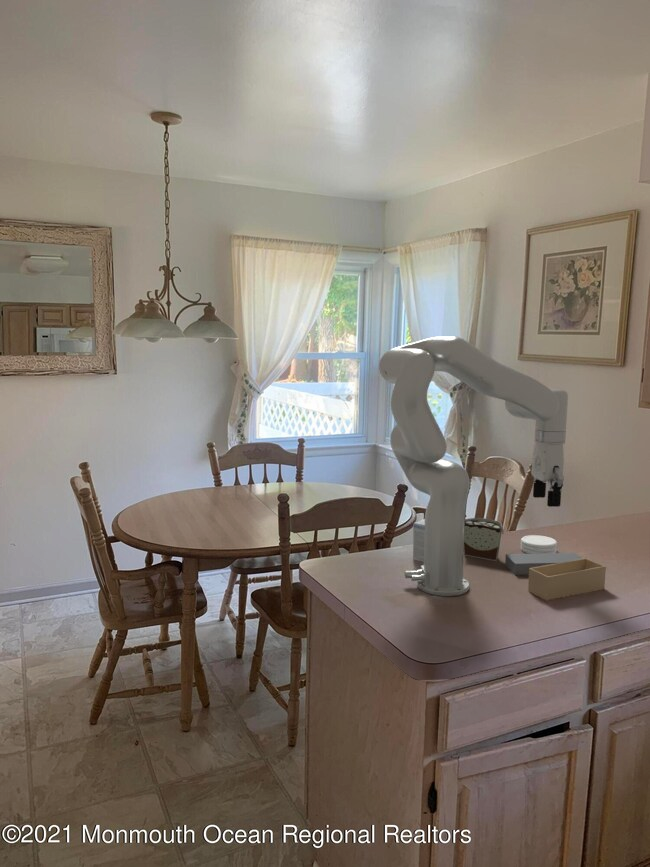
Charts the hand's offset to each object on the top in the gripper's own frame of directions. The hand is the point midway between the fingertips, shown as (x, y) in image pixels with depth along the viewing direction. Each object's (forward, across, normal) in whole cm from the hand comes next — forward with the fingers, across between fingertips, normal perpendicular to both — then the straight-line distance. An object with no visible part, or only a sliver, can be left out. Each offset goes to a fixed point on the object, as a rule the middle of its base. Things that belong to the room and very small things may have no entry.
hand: (546, 501), depth 166 cm
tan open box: (+19, +14, 0) cm, 24 cm away
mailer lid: (+18, 0, +1) cm, 18 cm away
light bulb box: (+19, -11, -27) cm, 35 cm away
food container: (+19, -12, -12) cm, 26 cm away
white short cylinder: (+19, -15, +5) cm, 25 cm away
